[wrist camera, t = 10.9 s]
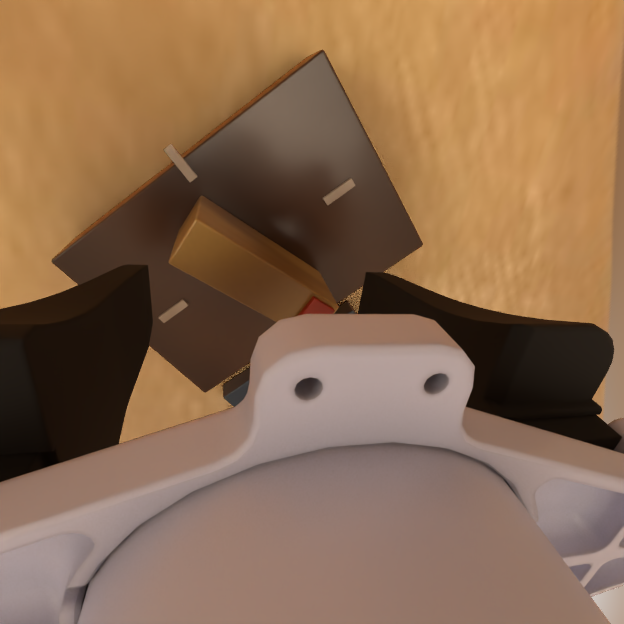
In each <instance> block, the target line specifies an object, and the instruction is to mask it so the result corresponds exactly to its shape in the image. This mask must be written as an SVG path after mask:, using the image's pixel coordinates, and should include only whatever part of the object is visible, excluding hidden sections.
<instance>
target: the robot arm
mask: <svg viewBox="0 0 624 624" xmlns="http://www.w3.org/2000/svg"><path fill="white" fill-rule="evenodd" d="M152 326H153V315H152V304H151V293H150V281H149V270H148V265H132V264H126V265H122V266H120V267H117V268H115V269H113V270H111V271H109V272H106V273H104V274H102V275H100V276H98V277H96V278H94V279H92V280H90V281H87V282H85V283H83V284H80V285H78V286H75V287H73V288H71V289H68V290H66V291H63V292H61V293H58V294H55V295H52V296H49V297H46V298H43V299H39V300H36V301H33V302H29V303H25V304H21V305H16V306H12V307H7V308H3V309H0V624H610V622H609V621H608V619H607V618H606V617H605V615H604V614H603V613H602V611H601V610H600V609H599V607H598V606H597V605H596V603H595V602H594V600H593V599H592V598H591V597H592V596H595V595H597V594H600V593H603V592H606V591H609V590H611V589H614V588H617V587H620V586H623V585H624V418H620V419H617V420H614V421H612V422H611V423H609V424H606V423H605V422H604V421H603V420H602V419H600V418H599V417H598V416H597V414H600V413H601V411H602V408H601V406H599V405H598V404H597V403H596V402H594V401H593V400H592V398H593V396H594V394H595V393H596V391H597V389H598V387H599V386H600V384H601V382H602V380H603V379H604V377H605V375H606V373H607V371H608V370H609V367H610V365H611V363H612V359H613V354H614V346H613V340H612V338H611V337H610V336H609V334H608V333H607V332H606V331H604V330H603V329H601V328H599V327H598V326H596V325H595V324H592V323H580V322H567V321H554V320H544V319H536V318H529V317H522V316H516V315H511V314H506V313H501V312H496V311H492V310H487V309H483V308H479V307H476V306H473V305H469V304H466V303H462V302H459V301H456V300H453V299H451V298H448V297H445V296H443V295H440V294H437V293H435V292H432V291H430V290H428V289H425V288H423V287H420V286H418V285H416V284H413V283H411V282H409V281H406V280H404V279H402V278H399V277H397V276H394V275H391V274H388V273H383V272H366V274H365V280H364V285H363V290H362V295H361V301H360V306H359V311H358V314H303V315H299V316H295V317H290V318H286V319H282V320H279V321H278V322H277V323H275V324H274V325H273V326H272V327H270V328H269V329H268V330H267V331H265V332H264V333H263V334H262V335H261V336H259V338H258V340H257V343H256V346H255V349H254V351H253V354H252V357H251V360H250V381H249V387H248V392H247V394H246V396H245V398H244V399H243V400H242V401H241V402H240V403H239V404H238V405H236V406H235V407H232V408H229V409H226V410H223V411H220V412H217V413H214V414H210V415H207V416H204V417H201V418H198V419H195V420H192V421H189V422H186V423H183V424H179V425H176V426H173V427H170V428H167V429H164V430H161V431H158V432H155V433H151V434H148V435H145V436H142V437H139V438H136V439H133V440H130V441H127V442H124V443H120V444H119V439H120V435H121V430H122V426H123V421H124V417H125V413H126V409H127V406H128V402H129V399H130V396H131V394H132V391H133V388H134V385H135V383H136V380H137V377H138V375H139V372H140V369H141V367H142V364H143V361H144V358H145V355H146V353H147V350H148V347H149V342H150V337H151V332H152Z"/></svg>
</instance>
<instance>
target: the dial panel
mask: <svg viewBox="0 0 624 624" xmlns="http://www.w3.org/2000/svg"><path fill="white" fill-rule="evenodd" d="M163 150H164V151H165V153H166V154H167V155H168V156H169V158H170V159H171V160H172V161H173V162H172V163H170V164H169V165H168V166H166V167H165V168H164V169H163V170H161V171H160V172H159V173H157V174H156V175H155V176H154V177H152V178H151V179H150V180H148V181H147V182H146V183H145V184H143V185H142V186H141V187H140V188H138V189H137V190H136V191H134V192H133V193H132V194H131V195H129V196H128V197H127V198H125V199H124V200H123V201H122V202H120V203H119V204H118V205H116V206H115V207H114V208H113V209H111V210H110V211H109V212H107V213H106V214H105V215H104V216H102V217H101V218H100V219H98V220H97V221H96V222H95V223H93V224H92V225H91V226H89V227H88V228H87V229H86V230H84V231H83V232H82V233H81V234H79V235H78V236H77V237H75V238H74V239H73V240H72V241H71V242H70V243H69V244H68V245H67V246H66V247H65V248H64V249H63V250H62V251H61V252H59V253H58V254H57V255H56V256H55V257H54V258H53V259H52V263H53V264H55V265H56V266H57V267H58V268H59V269H60V270H62V271H63V272H64V273H65V274H66V275H67V276H69V277H70V278H71V279H72V280H73V281H74V282H76V283H77V284H78V285H80V284H83V283H85V282H87V281H90V280H92V279H94V278H96V277H98V276H100V275H102V274H104V273H106V272H109V271H111V270H113V269H115V268H117V267H120V266H122V265H126V264H132V265H148V270H149V281H150V293H151V304H152V315H153V326H152V332H151V337H150V342H149V345H150V346H151V347H152V348H153V349H154V350H155V351H157V352H158V353H159V354H160V355H161V356H162V357H164V358H165V359H166V360H167V361H168V362H169V363H171V364H172V365H173V366H174V367H175V368H176V369H178V370H179V371H180V372H181V373H182V374H184V375H185V376H186V377H187V378H188V379H189V380H191V381H192V382H193V383H194V384H195V385H196V386H198V387H199V388H200V389H201V390H202V391H203V392H207V391H209V390H210V389H212V388H213V387H215V386H216V385H217V384H219V383H220V382H222V381H223V380H225V379H226V378H228V377H229V376H231V375H232V374H234V373H235V372H237V371H238V370H240V369H241V368H243V367H244V366H245V365H247V364H248V363H250V360H251V357H252V354H253V351H254V349H255V346H256V343H257V340H258V338H259V336H261V335H262V334H263V333H264V332H265V331H267V330H268V329H269V328H270V327H272V326H273V325H274V324H275V323H277V322H275V321H273V320H272V319H270V318H268V317H266V316H264V315H262V314H261V313H259V312H257V311H255V310H253V309H251V308H250V307H248V306H246V305H244V304H242V303H240V302H239V301H237V300H235V299H233V298H231V297H229V296H228V295H226V294H224V293H222V292H220V291H218V290H217V289H215V288H213V287H211V286H209V285H207V284H206V283H204V282H202V281H200V280H198V279H196V278H195V277H193V276H191V275H189V274H187V273H185V272H184V271H182V270H180V269H178V268H176V267H174V266H173V265H171V264H169V259H170V256H171V253H172V250H173V247H174V244H175V241H176V238H177V235H178V232H179V230H180V228H181V226H182V225H183V223H184V221H185V220H186V218H187V217H188V215H189V213H190V212H191V210H192V208H193V207H194V205H195V204H196V202H197V200H198V199H199V197H200V196H204V197H206V198H207V199H209V200H210V201H212V202H213V203H215V204H216V205H218V206H219V207H221V208H222V209H224V210H225V211H227V212H229V213H230V214H232V215H233V216H235V217H236V218H238V219H239V220H241V221H242V222H244V223H245V224H247V225H248V226H250V227H252V228H253V229H255V230H256V231H258V232H259V233H261V234H262V235H264V236H265V237H267V238H268V239H270V240H271V241H273V242H275V243H276V244H278V245H279V246H281V247H282V248H284V249H285V250H287V251H288V252H290V253H291V254H293V255H294V256H296V257H298V258H299V259H301V260H302V261H304V262H305V263H307V264H308V265H310V266H311V267H313V268H314V269H316V270H317V271H319V272H320V274H321V276H322V278H323V279H324V281H325V283H326V285H327V287H328V288H329V290H330V292H331V294H332V296H333V297H334V299H335V301H336V303H338V302H340V301H341V300H343V299H344V298H346V297H347V296H349V295H350V294H352V293H353V292H355V291H356V290H357V289H359V288H360V287H362V286H363V285H364V280H365V274H366V272H384V271H385V270H387V269H388V268H390V267H391V266H393V265H394V264H396V263H397V262H399V261H400V260H402V259H403V258H405V257H406V256H408V255H409V254H411V253H412V252H413V251H415V250H416V249H418V248H419V247H421V246H422V245H423V243H422V241H421V239H420V237H419V235H418V233H417V231H416V229H415V227H414V225H413V223H412V221H411V219H410V217H409V216H408V214H407V212H406V210H405V208H404V206H403V204H402V202H401V200H400V198H399V196H398V194H397V192H396V190H395V188H394V186H393V184H392V182H391V180H390V178H389V176H388V175H387V173H386V171H385V169H384V167H383V165H382V163H381V161H380V159H379V157H378V155H377V153H376V151H375V149H374V147H373V145H372V143H371V141H370V139H369V137H368V135H367V133H366V132H365V130H364V128H363V126H362V124H361V122H360V120H359V118H358V116H357V114H356V112H355V110H354V108H353V106H352V104H351V102H350V100H349V98H348V96H347V94H346V92H345V90H344V89H343V87H342V85H341V83H340V81H339V79H338V77H337V75H336V73H335V71H334V69H333V67H332V65H331V63H330V61H329V59H328V57H327V55H326V53H325V51H324V50H320V51H318V52H316V53H314V54H312V55H310V56H308V57H306V58H305V59H304V60H302V61H301V62H300V63H299V64H297V65H296V66H295V67H293V68H292V69H291V70H290V71H288V72H287V73H286V74H284V75H283V76H282V77H281V78H279V79H278V80H277V81H275V82H274V83H273V84H272V85H270V86H269V87H268V88H266V89H265V90H264V91H263V92H261V93H260V94H259V95H257V96H256V97H255V98H254V99H252V100H251V101H250V102H249V103H247V104H246V105H245V106H243V107H242V108H241V109H240V110H238V111H237V112H236V113H234V114H233V115H232V116H231V117H229V118H228V119H227V120H225V121H224V122H223V123H222V124H220V125H219V126H218V127H216V128H215V129H214V130H213V131H211V132H210V133H209V134H207V135H206V136H205V137H204V138H202V139H201V140H200V141H199V142H197V143H196V144H195V145H193V146H192V147H191V148H190V149H188V150H187V151H186V152H184V153H183V154H182V155H180V154H179V152H178V151H177V150H176V149H175V147H174V146H173V145H172V144H170V145H168V146H167V147H166V148H165V149H163Z"/></svg>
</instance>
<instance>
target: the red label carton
mask: <svg viewBox="0 0 624 624" xmlns="http://www.w3.org/2000/svg"><path fill="white" fill-rule="evenodd" d="M169 264H171V265H173V266H174V267H176V268H178V269H180V270H182V271H184V272H185V273H187V274H189V275H191V276H193V277H195V278H196V279H198V280H200V281H202V282H204V283H206V284H207V285H209V286H211V287H213V288H215V289H217V290H218V291H220V292H222V293H224V294H226V295H228V296H229V297H231V298H233V299H235V300H237V301H239V302H240V303H242V304H244V305H246V306H248V307H250V308H251V309H253V310H255V311H257V312H259V313H261V314H262V315H264V316H266V317H268V318H270V319H272V320H273V321H275V322H278V321H279V320H282V319H286V318H290V317H295V316H299V315H303V314H334V313H335V312H336V310H337V309H338V307H339V306H338V305H337V303H336V301H335V299H334V297H333V296H332V294H331V292H330V290H329V288H328V287H327V285H326V283H325V281H324V279H323V278H322V276H321V274H320V272H319V271H317V270H316V269H314V268H313V267H311V266H310V265H308V264H307V263H305V262H304V261H302V260H301V259H299V258H298V257H296V256H294V255H293V254H291V253H290V252H288V251H287V250H285V249H284V248H282V247H281V246H279V245H278V244H276V243H275V242H273V241H271V240H270V239H268V238H267V237H265V236H264V235H262V234H261V233H259V232H258V231H256V230H255V229H253V228H252V227H250V226H248V225H247V224H245V223H244V222H242V221H241V220H239V219H238V218H236V217H235V216H233V215H232V214H230V213H229V212H227V211H225V210H224V209H222V208H221V207H219V206H218V205H216V204H215V203H213V202H212V201H210V200H209V199H207V198H206V197H204V196H200V197H199V199H198V200H197V202H196V204H195V205H194V207H193V208H192V210H191V212H190V213H189V215H188V217H187V218H186V220H185V221H184V223H183V225H182V226H181V228H180V230H179V232H178V235H177V238H176V241H175V244H174V247H173V250H172V253H171V256H170V259H169Z"/></svg>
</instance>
